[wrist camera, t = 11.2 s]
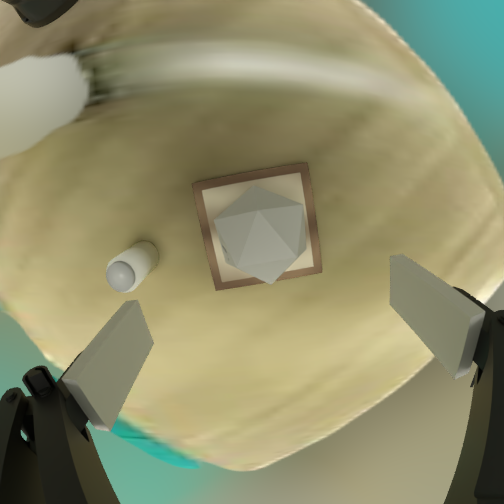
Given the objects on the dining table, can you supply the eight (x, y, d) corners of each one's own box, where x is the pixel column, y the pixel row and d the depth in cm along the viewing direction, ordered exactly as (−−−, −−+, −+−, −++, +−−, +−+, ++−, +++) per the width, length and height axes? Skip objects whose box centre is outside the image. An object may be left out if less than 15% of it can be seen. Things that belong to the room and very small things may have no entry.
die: (240, 173, 31) (183, 219, 24) (319, 178, 26) (278, 234, 20) (253, 235, 36) (208, 289, 29) (322, 247, 31) (288, 312, 25)
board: (194, 183, 32) (191, 183, 30) (304, 162, 31) (307, 162, 29) (217, 285, 35) (215, 291, 34) (319, 268, 35) (322, 272, 33)
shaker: (127, 244, 34) (98, 262, 26) (154, 238, 34) (129, 256, 26) (135, 272, 35) (110, 297, 27) (162, 268, 35) (140, 293, 27)
